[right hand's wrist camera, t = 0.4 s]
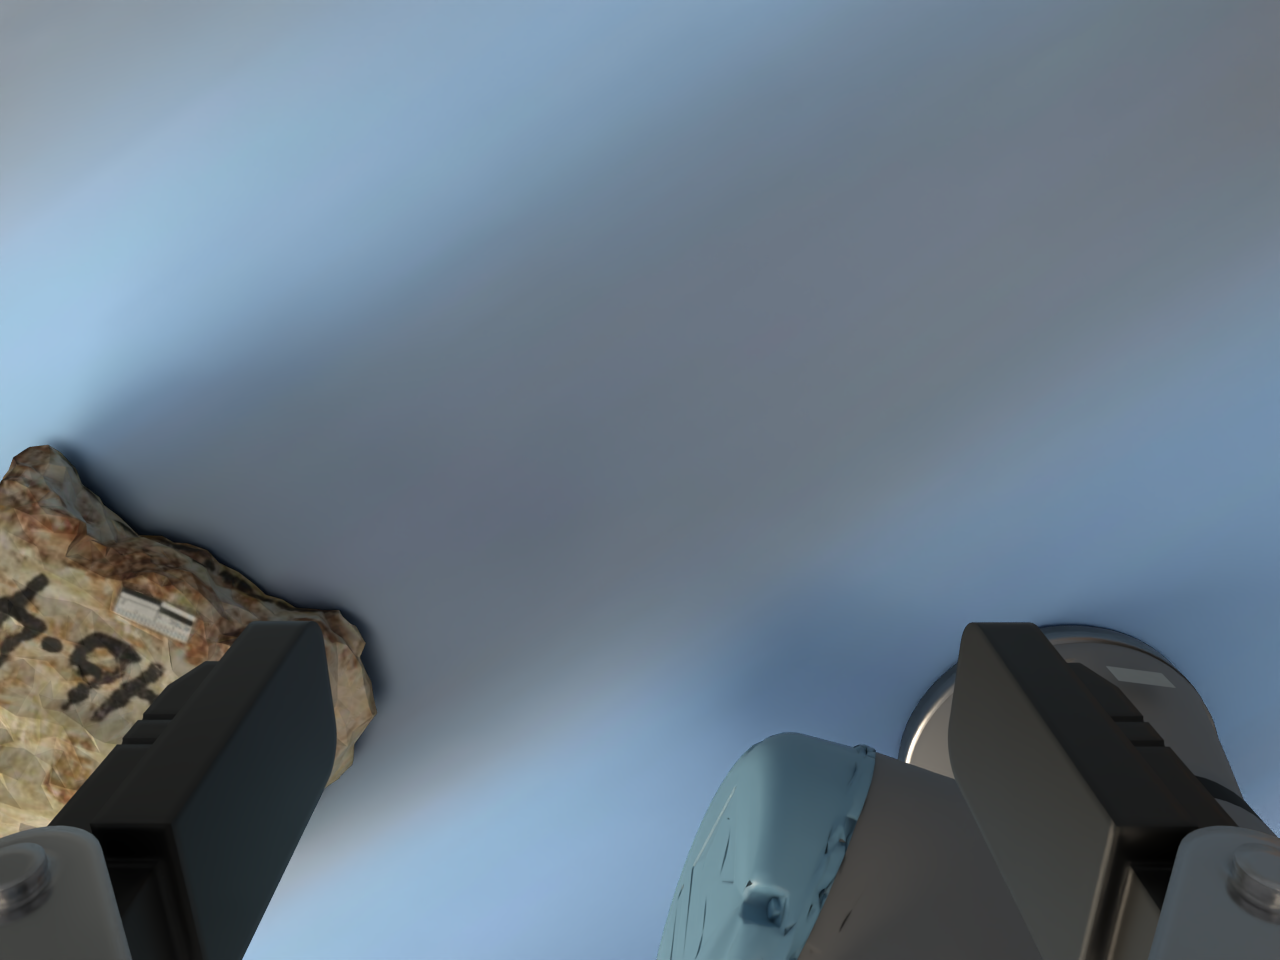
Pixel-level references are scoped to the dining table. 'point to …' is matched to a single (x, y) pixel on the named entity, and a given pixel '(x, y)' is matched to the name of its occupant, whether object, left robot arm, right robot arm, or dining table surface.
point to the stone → (115, 634)
